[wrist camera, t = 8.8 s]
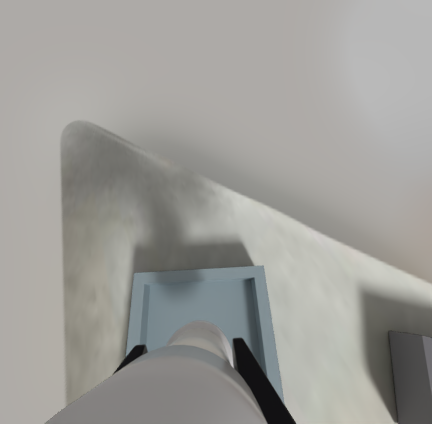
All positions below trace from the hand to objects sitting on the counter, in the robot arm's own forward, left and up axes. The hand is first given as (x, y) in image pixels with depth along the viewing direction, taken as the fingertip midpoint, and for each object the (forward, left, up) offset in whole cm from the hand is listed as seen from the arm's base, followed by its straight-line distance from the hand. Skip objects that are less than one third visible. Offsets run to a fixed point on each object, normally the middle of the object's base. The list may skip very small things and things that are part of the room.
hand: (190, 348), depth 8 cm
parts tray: (-1, 0, -13) cm, 13 cm away
